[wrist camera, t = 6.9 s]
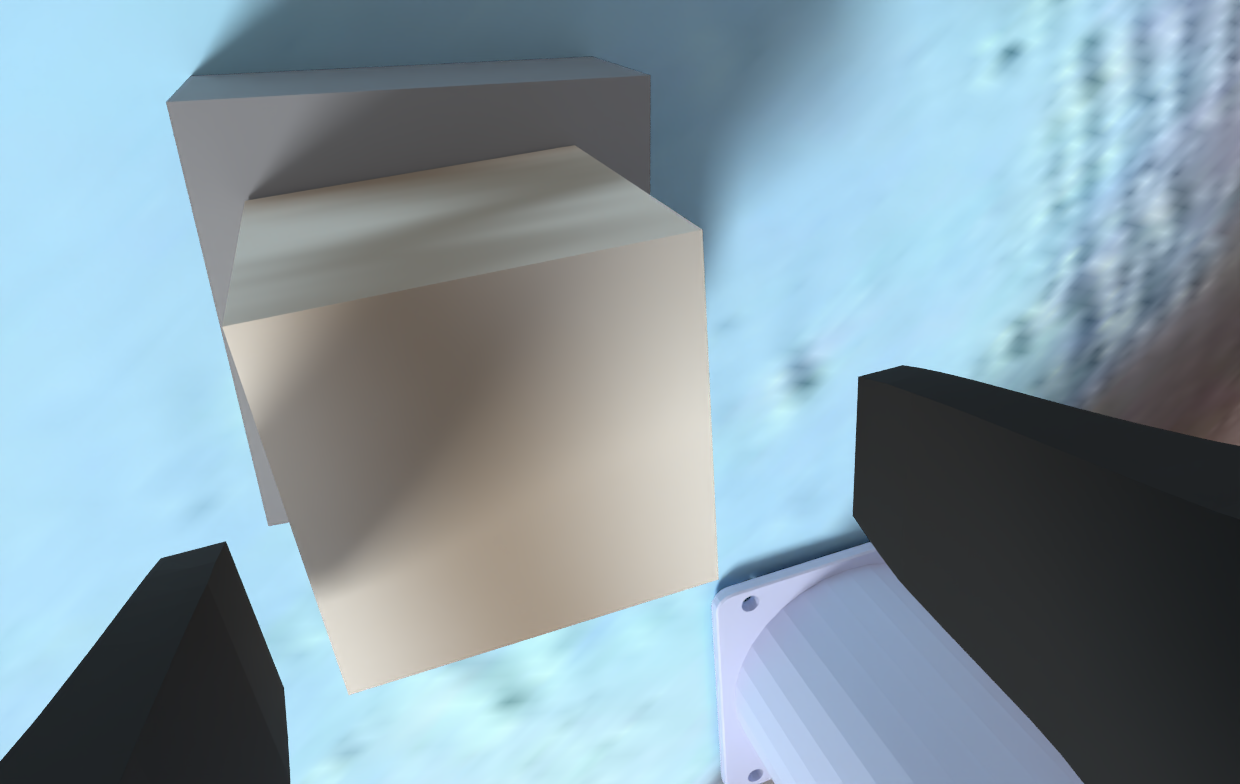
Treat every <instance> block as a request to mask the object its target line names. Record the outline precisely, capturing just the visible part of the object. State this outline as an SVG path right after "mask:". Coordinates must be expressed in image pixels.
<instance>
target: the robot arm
mask: <svg viewBox="0 0 1240 784" xmlns="http://www.w3.org/2000/svg"><path fill="white" fill-rule="evenodd" d="M853 517H854V518H855V519H856V521H857V522H858V524H859V525H860V527H861V528H862V530H863V531H864V533H865V534H866V536H867V537H868V539H869V540H870V542H868V543H865V544H862V545H859V546H856V547H852V548H849V549H846V550H843V551H840V552H836V553H833V554H830V555H827V556H824V557H821V558H817V559H814V560H811V561H808V562H805V563H802V564H798V565H795V566H792V567H789V568H786V569H783V570H779V571H776V572H773V573H770V574H767V575H764V576H760V577H757V578H754V579H751V580H748V581H744V582H741V583H738V584H735V585H732V586H729V587H726V588H724V589H722V590H720V591H719V592H718V593H717V594H716V595H715V597H714V598H713V600H712V605H711V611H712V628H713V645H714V662H715V679H716V696H717V713H718V730H719V747H720V764H721V778H722V781H723V783H724V784H760V783H763V782H765V781H768V780H770V779H772V780H773V782H774V784H1240V446H1236V445H1231V444H1226V443H1221V442H1216V441H1211V440H1207V439H1202V438H1198V437H1194V436H1189V435H1185V434H1180V433H1176V432H1172V431H1167V430H1163V429H1158V428H1154V427H1150V426H1145V425H1141V424H1137V423H1133V422H1129V421H1125V420H1121V419H1117V418H1113V417H1109V416H1105V415H1101V414H1097V413H1093V412H1090V411H1086V410H1082V409H1078V408H1074V407H1071V406H1067V405H1063V404H1060V403H1056V402H1052V401H1048V400H1045V399H1041V398H1037V397H1034V396H1030V395H1026V394H1023V393H1019V392H1015V391H1012V390H1008V389H1004V388H1000V387H997V386H993V385H989V384H986V383H982V382H978V381H974V380H970V379H966V378H962V377H958V376H954V375H950V374H946V373H942V372H937V371H933V370H928V369H923V368H917V367H910V366H904V365H902V366H898V367H894V368H890V369H887V370H883V371H879V372H875V373H871V374H867V375H864V376H860V377H858V399H857V424H856V449H855V473H854V498H853ZM750 596H751V597H750ZM748 597H750V599H749V600H747V601H745V602H743V601H744V600H745V599H746V598H748ZM0 784H290V767H289V750H288V734H287V722H286V709H285V696H284V687H283V685H282V682H281V680H280V677H279V675H278V672H277V669H276V667H275V664H274V662H273V659H272V657H271V654H270V652H269V649H268V647H267V644H266V642H265V639H264V637H263V634H262V632H261V629H260V627H259V624H258V621H257V619H256V616H255V614H254V611H253V609H252V606H251V604H250V601H249V599H248V596H247V594H246V591H245V589H244V586H243V584H242V581H241V579H240V576H239V574H238V571H237V568H236V566H235V563H234V561H233V558H232V556H231V553H230V551H229V548H228V546H227V543H226V542H222V543H218V544H214V545H210V546H207V547H203V548H199V549H195V550H191V551H187V552H183V553H180V554H176V555H172V556H168V557H164V558H161V559H160V560H159V561H158V562H157V564H156V565H155V566H154V567H153V568H152V570H151V571H150V572H149V573H148V575H147V576H146V577H145V578H144V580H143V581H142V582H141V584H140V585H139V586H138V588H137V589H136V590H135V592H134V593H133V594H132V596H131V597H130V598H129V600H128V601H127V602H126V603H125V605H124V606H123V607H122V609H121V610H120V611H119V613H118V614H117V615H116V617H115V618H114V619H113V621H112V622H111V623H110V625H109V626H108V627H107V629H106V630H105V631H104V633H103V634H102V635H101V637H100V638H99V639H98V641H97V642H96V643H95V645H94V646H93V647H92V648H91V650H90V651H89V652H88V654H87V655H86V656H85V657H84V659H83V660H82V661H81V663H80V664H79V665H78V666H77V668H76V669H75V670H74V672H73V673H72V674H71V675H70V677H69V678H68V679H67V681H66V682H65V683H64V684H63V686H62V687H61V688H60V690H59V691H58V692H57V693H56V695H55V696H54V697H53V698H52V700H51V701H50V702H49V704H48V705H47V706H46V707H45V709H44V710H43V711H42V713H41V714H40V715H39V716H38V718H37V719H36V720H35V721H34V722H33V724H32V725H31V726H30V727H29V728H28V729H27V731H26V732H25V733H24V734H23V735H22V737H21V738H20V739H19V740H18V741H17V742H16V744H15V745H14V746H13V747H12V748H11V749H10V751H9V752H8V753H7V754H6V755H5V756H4V758H3V759H2V760H1V761H0Z"/></svg>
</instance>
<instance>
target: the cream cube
mask: <svg viewBox="0 0 1240 784" xmlns="http://www.w3.org/2000/svg"><path fill="white" fill-rule="evenodd" d="M222 328H223V331H224V334H225V337H226V340H227V342H228V345H229V348H230V351H231V354H232V357H233V360H234V363H235V366H236V369H237V372H238V374H239V377H240V380H241V383H242V386H243V389H244V392H245V395H246V398H247V401H248V404H249V406H250V409H251V412H252V415H253V418H254V421H255V424H256V427H257V430H258V433H259V435H260V438H261V441H262V444H263V447H264V450H265V453H266V456H267V459H268V462H269V465H270V467H271V470H272V473H273V476H274V479H275V482H276V485H277V488H278V491H279V494H280V497H281V499H282V502H283V505H284V508H285V511H286V514H287V517H288V520H289V523H290V526H291V528H292V531H293V534H294V537H295V540H296V543H297V546H298V549H299V552H300V555H301V558H302V560H303V563H304V566H305V569H306V572H307V575H308V578H309V581H310V584H311V587H312V590H313V592H314V595H315V598H316V601H317V604H318V607H319V610H320V613H321V616H322V619H323V621H324V624H325V627H326V630H327V633H328V636H329V639H330V642H331V645H332V648H333V651H334V653H335V656H336V659H337V662H338V665H339V668H340V671H341V674H342V677H343V680H344V683H345V685H346V688H347V691H348V694H349V695H351V694H354V693H357V692H360V691H363V690H367V689H370V688H373V687H376V686H379V685H383V684H386V683H389V682H392V681H395V680H399V679H402V678H405V677H408V676H411V675H415V674H418V673H421V672H424V671H427V670H431V669H434V668H437V667H440V666H443V665H447V664H450V663H453V662H456V661H459V660H463V659H466V658H469V657H472V656H475V655H478V654H482V653H485V652H488V651H491V650H494V649H498V648H501V647H504V646H507V645H510V644H514V643H517V642H520V641H523V640H526V639H530V638H533V637H536V636H539V635H542V634H546V633H549V632H552V631H555V630H558V629H562V628H565V627H568V626H571V625H574V624H578V623H581V622H584V621H587V620H590V619H594V618H597V617H600V616H603V615H606V614H610V613H613V612H616V611H619V610H622V609H626V608H629V607H632V606H635V605H638V604H641V603H645V602H648V601H651V600H654V599H657V598H661V597H664V596H667V595H670V594H673V593H677V592H680V591H683V590H686V589H689V588H693V587H696V586H699V585H702V584H705V583H709V582H712V581H715V580H718V557H717V536H716V514H715V492H714V470H713V449H712V427H711V405H710V383H709V362H708V340H707V318H706V297H705V275H704V253H703V231H702V229H701V228H699V227H698V226H696V225H695V224H693V223H692V222H690V221H689V220H687V219H686V218H684V217H683V216H681V215H680V214H678V213H676V212H675V211H673V210H672V209H670V208H669V207H667V206H666V205H664V204H663V203H661V202H660V201H658V200H657V199H655V198H654V197H652V196H651V195H649V194H648V193H646V192H645V191H643V190H642V189H640V188H639V187H637V186H636V185H634V184H633V183H631V182H630V181H628V180H627V179H625V178H624V177H622V176H621V175H619V174H618V173H616V172H615V171H613V170H612V169H610V168H609V167H607V166H606V165H604V164H603V163H601V162H599V161H598V160H596V159H595V158H593V157H592V156H590V155H589V154H587V153H586V152H584V151H583V150H581V149H580V148H578V147H577V146H575V145H572V146H566V147H560V148H554V149H548V150H542V151H537V152H531V153H525V154H519V155H513V156H507V157H501V158H495V159H489V160H483V161H477V162H471V163H466V164H460V165H454V166H448V167H442V168H436V169H430V170H424V171H418V172H412V173H406V174H401V175H395V176H389V177H383V178H377V179H371V180H365V181H359V182H353V183H347V184H341V185H335V186H330V187H324V188H318V189H312V190H306V191H300V192H294V193H288V194H282V195H276V196H270V197H265V198H259V199H253V200H247V201H245V203H244V209H243V214H242V220H241V225H240V231H239V236H238V242H237V247H236V253H235V258H234V264H233V270H232V275H231V281H230V286H229V292H228V297H227V303H226V308H225V314H224V319H223V325H222Z"/></svg>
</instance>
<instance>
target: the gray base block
mask: <svg viewBox="0 0 1240 784" xmlns="http://www.w3.org/2000/svg"><path fill="white" fill-rule="evenodd" d="M166 104H167V108H168V112H169V116H170V120H171V125H172V129H173V133H174V137H175V141H176V145H177V149H178V154H179V158H180V162H181V166H182V170H183V174H184V178H185V183H186V187H187V191H188V195H189V199H190V203H191V207H192V212H193V216H194V220H195V224H196V228H197V232H198V236H199V241H200V245H201V249H202V253H203V257H204V261H205V265H206V269H207V274H208V278H209V282H210V286H211V290H212V294H213V298H214V303H215V307H216V311H217V315H218V319H219V323H220V327H221V332H222V336H223V340H224V344H225V348H226V352H227V356H228V361H229V365H230V369H231V373H232V377H233V381H234V385H235V390H236V394H237V398H238V402H239V406H240V410H241V414H242V419H243V423H244V427H245V431H246V435H247V439H248V443H249V448H250V452H251V456H252V460H253V464H254V468H255V472H256V476H257V481H258V485H259V489H260V493H261V497H262V501H263V505H264V510H265V514H266V518H267V522H268V526H272V525H277V524H283V523H288V522H289V520H288V517H287V514H286V511H285V508H284V505H283V502H282V499H281V497H280V494H279V491H278V488H277V485H276V482H275V479H274V476H273V473H272V470H271V467H270V465H269V462H268V459H267V456H266V453H265V450H264V447H263V444H262V441H261V438H260V435H259V433H258V430H257V427H256V424H255V421H254V418H253V415H252V412H251V409H250V406H249V404H248V401H247V398H246V395H245V392H244V389H243V386H242V383H241V380H240V377H239V374H238V372H237V369H236V366H235V363H234V360H233V357H232V354H231V351H230V348H229V345H228V342H227V340H226V337H225V334H224V331H223V328H222V325H223V319H224V314H225V308H226V303H227V297H228V292H229V286H230V281H231V275H232V270H233V264H234V258H235V253H236V247H237V242H238V236H239V231H240V225H241V220H242V214H243V209H244V203H245V201H247V200H253V199H259V198H265V197H270V196H276V195H282V194H288V193H294V192H300V191H306V190H312V189H318V188H324V187H330V186H335V185H341V184H347V183H353V182H359V181H365V180H371V179H377V178H383V177H389V176H395V175H401V174H406V173H412V172H418V171H424V170H430V169H436V168H442V167H448V166H454V165H460V164H466V163H471V162H477V161H483V160H489V159H495V158H501V157H507V156H513V155H519V154H525V153H531V152H537V151H542V150H548V149H554V148H560V147H566V146H572V145H575V146H577V147H578V148H580V149H581V150H583V151H584V152H586V153H587V154H589V155H590V156H592V157H593V158H595V159H596V160H598V161H599V162H601V163H603V164H604V165H606V166H607V167H609V168H610V169H612V170H613V171H615V172H616V173H618V174H619V175H621V176H622V177H624V178H625V179H627V180H628V181H630V182H631V183H633V184H634V185H636V186H637V187H639V188H640V189H642V190H643V191H645V192H646V193H648V194H649V195H650V75H648V74H645V73H642V72H639V71H636V70H632V69H629V68H626V67H623V66H620V65H617V64H614V63H611V62H607V61H604V60H601V59H598V58H595V57H571V58H550V59H530V60H509V61H488V62H467V63H446V64H426V65H405V66H384V67H363V68H342V69H322V70H301V71H280V72H259V73H238V74H218V75H197V76H190V77H189V78H188V79H187V80H186V81H185V83H184V84H183V85H182V86H181V87H180V88H179V89H178V90H177V91H176V92H175V93H174V94H173V95H172V96H171V97H170V98H169V99H168V101H167V102H166Z"/></svg>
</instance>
